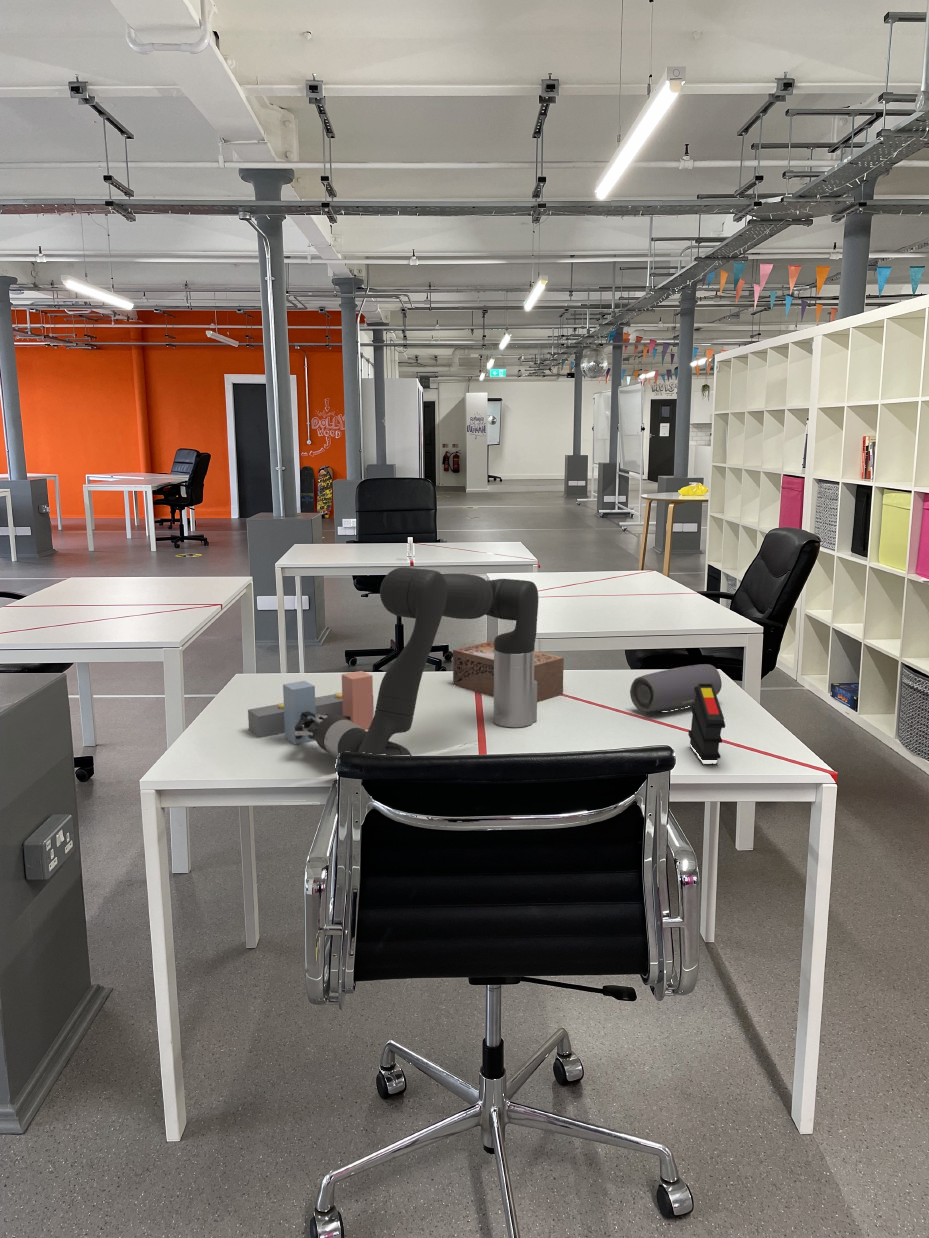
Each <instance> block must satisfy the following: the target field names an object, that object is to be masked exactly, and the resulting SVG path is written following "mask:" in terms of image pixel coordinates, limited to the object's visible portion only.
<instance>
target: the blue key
mask: <svg viewBox="0 0 929 1238" xmlns="http://www.w3.org/2000/svg"><path fill="white" fill-rule="evenodd" d="M315 688H316V686H315V685H313V684H312V683H309V682H308V681H306V680H300V681H295V682H289V683H283V684H282V690H283V692H282V694H283V697H282V698H283V703H284V721H285V733H284V738H285V740H287V741H289V742H290V743H292V744H293V745H300V744H305V743H308V742H309V743H310V742H316V740H314V739H310V738H309V737H308V736H306V735H305V737H302V738H301V739H295V726H296V724H297V723H298V722H299V720H300V719H301V715H302V712H307V711H309V712H311V713H314V714H315V715H316V708H315V698H316V689H315ZM307 730H308V728H307Z"/></svg>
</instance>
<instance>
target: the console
mask: <svg viewBox="0 0 929 1238" xmlns="http://www.w3.org/2000/svg"><path fill="white" fill-rule="evenodd" d="M315 708H316V715H317V714H318V715H321V716H323V715H324V714H334V715H343V706H342V692H336V693H333V694H328V695H322V696H317V697H316V696H315ZM247 715H248V716H247V718H248V720H247V721H248V732H250V733H251V734H252V735H255V736H256V737H257V738H259V739H262V738H266V737H273V736H276V735H277V736H278V735H281V734H285V721H284V702H280V703H278V704H273V705H265V706H261V707H256V708H250V709H247ZM374 715H375V711H374V705H373V716H374Z"/></svg>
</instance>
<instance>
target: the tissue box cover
mask: <svg viewBox="0 0 929 1238" xmlns="http://www.w3.org/2000/svg"><path fill="white" fill-rule="evenodd" d="M564 659H565V658H564V657H561V656H557V655H553V654H549V653H545V652H542V651H541V652H540V651H535V650H534V680H535V681H537V703H541V702H544V701H546V700H550V699H553V698H557V697H561V696H563V694H564V668H565V667H564V664H565V663H564V662H565V660H564ZM452 685H453V686H454V685H455V686H454V687H457V686H458V688H461V689H464V690H468V691H471V692H475V693H478V694H482V695H485V696H489V697H492V698H494V641H491V640H490V641H487V642H482V643H478V644H473V645H468V646H463V647H458V648H455V649H452Z"/></svg>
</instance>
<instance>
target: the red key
mask: <svg viewBox="0 0 929 1238" xmlns="http://www.w3.org/2000/svg"><path fill="white" fill-rule="evenodd" d="M373 683H374V682H373V675H372V674H370V673H367V672H365V671H363V670H360V671H359V670H358V671H353V672H347V673H341V693H342V706H343V715H344V716H351V721H352V722H353V723H355V724H357V725H359V726H360V727H361V728H362V729H363V730H365V731H367V730H368V729H369V727H370V724H371V722H372V720H373V718H374V715H373V706H374V689H373V687H374V684H373Z"/></svg>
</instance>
